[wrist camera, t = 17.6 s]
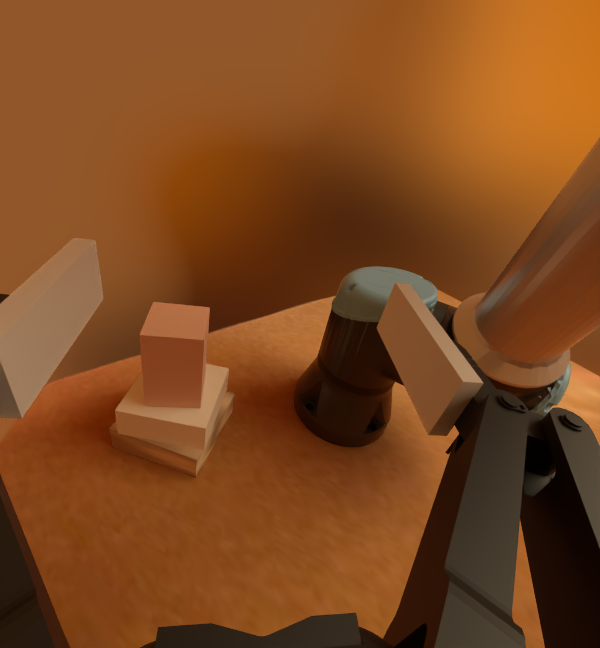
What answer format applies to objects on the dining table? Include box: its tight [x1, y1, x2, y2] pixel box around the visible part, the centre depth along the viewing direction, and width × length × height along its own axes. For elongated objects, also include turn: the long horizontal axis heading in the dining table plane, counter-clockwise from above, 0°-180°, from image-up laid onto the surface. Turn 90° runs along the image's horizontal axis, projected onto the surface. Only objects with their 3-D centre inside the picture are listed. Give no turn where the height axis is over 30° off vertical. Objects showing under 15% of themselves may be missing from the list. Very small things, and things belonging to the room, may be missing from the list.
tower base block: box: [109, 391, 235, 478], centre depth 45 cm, size 11×11×4 cm
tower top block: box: [115, 364, 229, 450], centre depth 43 cm, size 10×10×4 cm
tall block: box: [140, 302, 210, 408], centre depth 39 cm, size 6×6×10 cm
